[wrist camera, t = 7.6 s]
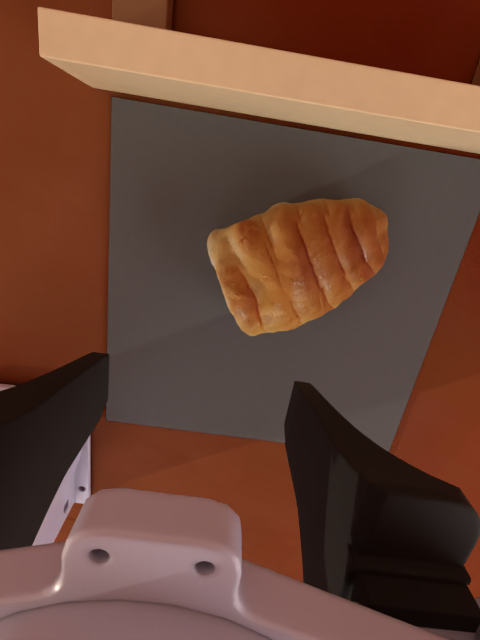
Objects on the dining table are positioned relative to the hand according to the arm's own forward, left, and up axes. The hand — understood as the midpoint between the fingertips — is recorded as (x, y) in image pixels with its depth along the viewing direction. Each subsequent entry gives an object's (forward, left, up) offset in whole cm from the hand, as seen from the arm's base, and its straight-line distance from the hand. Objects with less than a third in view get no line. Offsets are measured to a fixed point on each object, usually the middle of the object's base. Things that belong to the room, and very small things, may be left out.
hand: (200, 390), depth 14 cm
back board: (+13, -4, -9) cm, 16 cm away
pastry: (+4, -4, -9) cm, 10 cm away
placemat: (+1, -4, -9) cm, 9 cm away
